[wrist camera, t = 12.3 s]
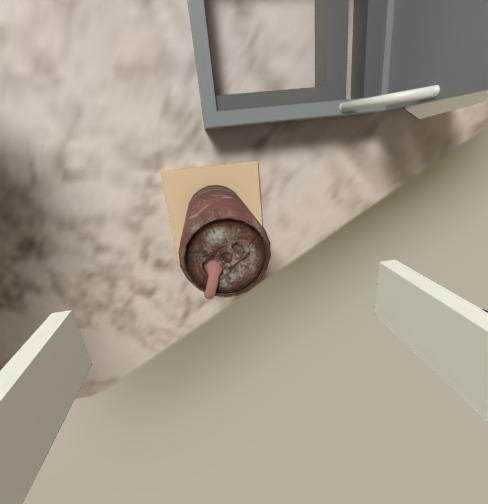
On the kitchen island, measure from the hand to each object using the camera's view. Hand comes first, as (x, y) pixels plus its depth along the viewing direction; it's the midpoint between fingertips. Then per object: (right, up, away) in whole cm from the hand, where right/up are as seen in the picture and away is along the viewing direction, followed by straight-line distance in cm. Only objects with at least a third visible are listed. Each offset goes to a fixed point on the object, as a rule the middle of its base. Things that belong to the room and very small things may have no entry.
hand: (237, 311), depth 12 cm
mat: (-3, +7, +19) cm, 20 cm away
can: (-3, +7, +19) cm, 20 cm away
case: (+4, +23, +14) cm, 27 cm away
